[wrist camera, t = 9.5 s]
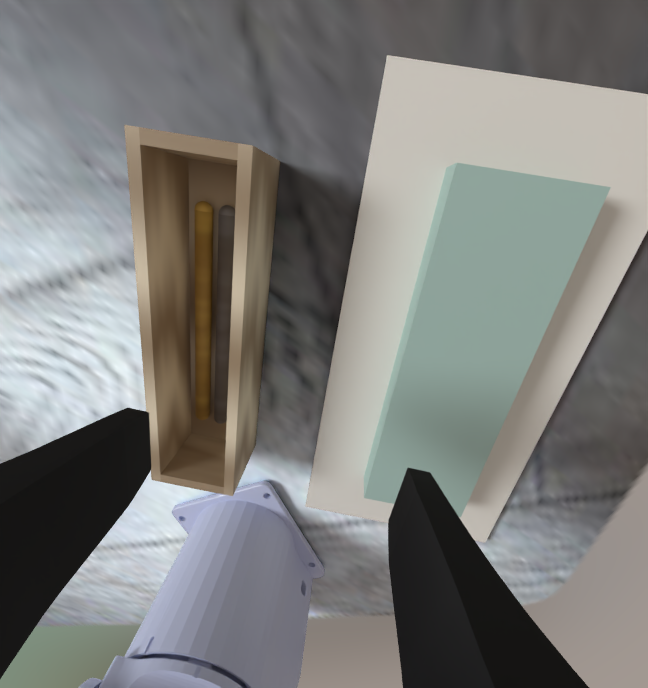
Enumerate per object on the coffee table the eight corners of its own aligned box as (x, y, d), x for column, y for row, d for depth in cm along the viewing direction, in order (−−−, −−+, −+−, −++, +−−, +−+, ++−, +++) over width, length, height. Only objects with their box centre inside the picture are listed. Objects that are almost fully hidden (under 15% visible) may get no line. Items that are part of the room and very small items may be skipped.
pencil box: (255, 445, 21) (232, 496, 17) (188, 431, 21) (151, 479, 17) (280, 161, 14) (252, 145, 11) (183, 145, 15) (124, 124, 11)
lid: (453, 494, 20) (460, 517, 19) (363, 476, 20) (364, 498, 19) (583, 189, 13) (610, 187, 12) (446, 167, 14) (457, 162, 12)
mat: (482, 536, 22) (485, 542, 21) (306, 501, 22) (305, 506, 22) (702, 107, 12) (713, 104, 12) (386, 59, 13) (387, 55, 12)
